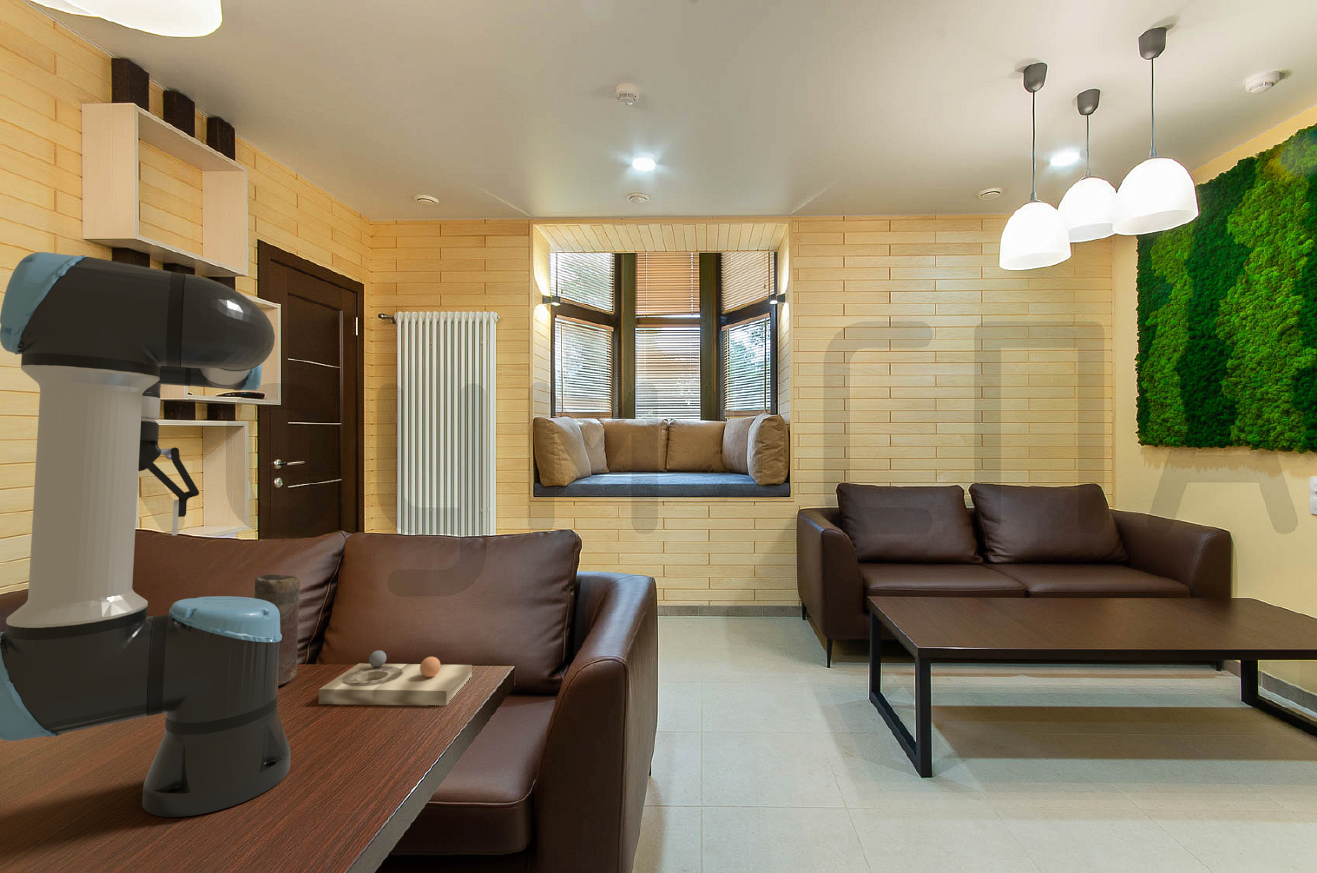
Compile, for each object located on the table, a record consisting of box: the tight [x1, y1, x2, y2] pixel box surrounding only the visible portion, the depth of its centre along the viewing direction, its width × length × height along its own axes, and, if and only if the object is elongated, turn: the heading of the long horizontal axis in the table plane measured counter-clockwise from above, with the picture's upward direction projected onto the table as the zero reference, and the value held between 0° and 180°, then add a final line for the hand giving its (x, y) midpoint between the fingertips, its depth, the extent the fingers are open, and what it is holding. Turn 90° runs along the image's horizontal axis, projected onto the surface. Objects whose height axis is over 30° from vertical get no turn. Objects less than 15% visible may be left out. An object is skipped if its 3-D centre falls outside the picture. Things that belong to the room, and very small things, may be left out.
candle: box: [253, 574, 301, 687], centre depth 109 cm, size 8×7×20 cm
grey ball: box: [368, 649, 387, 667], centre depth 111 cm, size 3×3×3 cm
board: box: [318, 662, 473, 707], centre depth 106 cm, size 22×13×2 cm, turn 89°
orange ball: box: [420, 656, 442, 677], centre depth 106 cm, size 4×4×4 cm
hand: (125, 537), depth 105 cm, fingers open, 13 cm apart
